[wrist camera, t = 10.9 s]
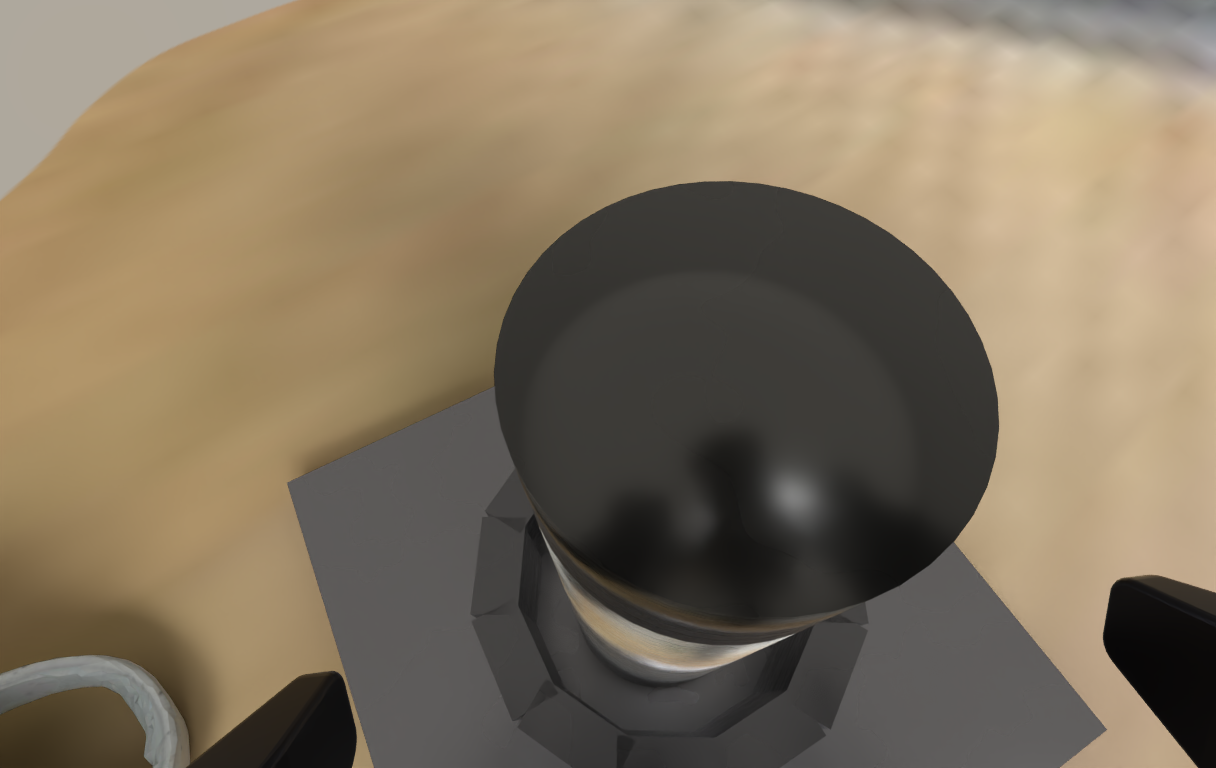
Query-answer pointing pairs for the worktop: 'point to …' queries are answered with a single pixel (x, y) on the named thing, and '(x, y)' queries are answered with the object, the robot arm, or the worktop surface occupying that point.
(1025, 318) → the worktop surface
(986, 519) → the worktop surface
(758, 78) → the worktop surface
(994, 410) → the black capped shaker
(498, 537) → the firebox collar
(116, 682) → the ceramic mug
